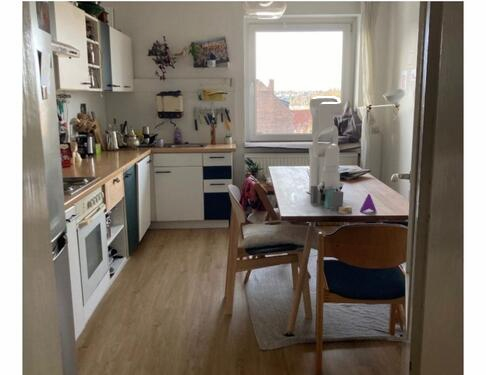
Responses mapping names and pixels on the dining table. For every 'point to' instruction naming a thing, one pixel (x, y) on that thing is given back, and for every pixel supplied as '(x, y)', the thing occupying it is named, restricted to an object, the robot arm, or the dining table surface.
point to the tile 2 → (319, 201)
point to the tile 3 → (337, 200)
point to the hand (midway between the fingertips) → (329, 199)
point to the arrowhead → (368, 204)
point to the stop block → (345, 209)
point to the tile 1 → (314, 194)
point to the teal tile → (329, 198)
